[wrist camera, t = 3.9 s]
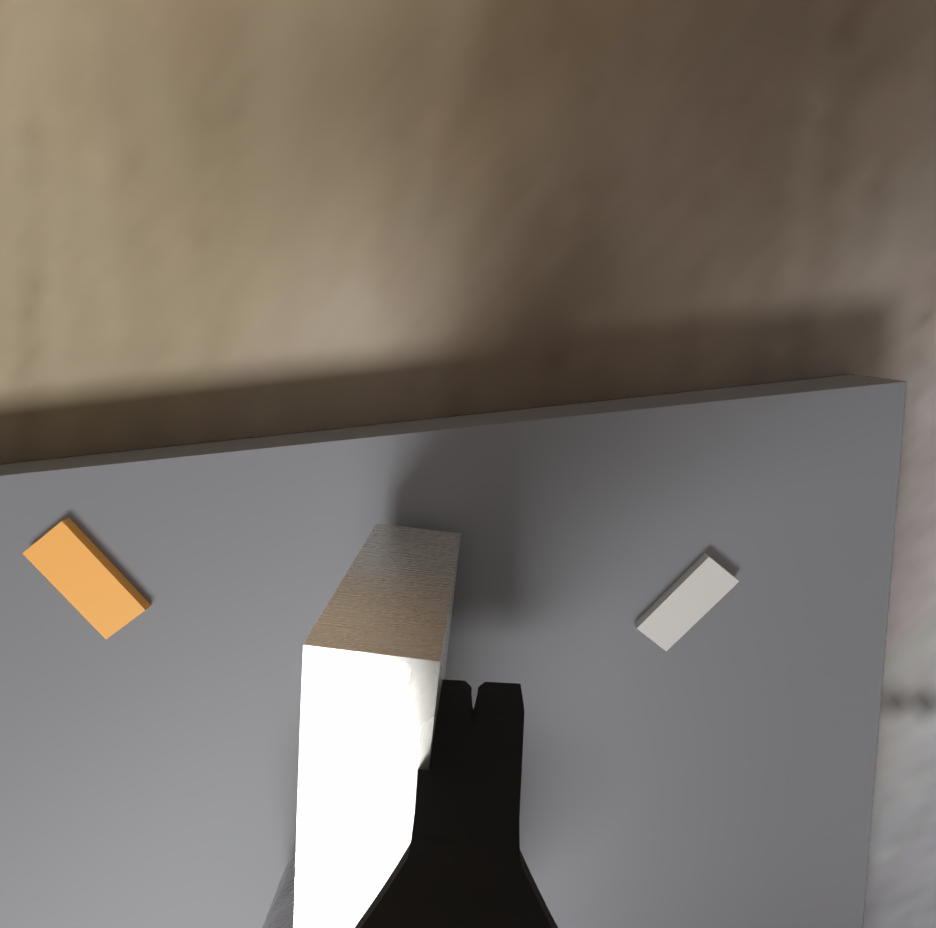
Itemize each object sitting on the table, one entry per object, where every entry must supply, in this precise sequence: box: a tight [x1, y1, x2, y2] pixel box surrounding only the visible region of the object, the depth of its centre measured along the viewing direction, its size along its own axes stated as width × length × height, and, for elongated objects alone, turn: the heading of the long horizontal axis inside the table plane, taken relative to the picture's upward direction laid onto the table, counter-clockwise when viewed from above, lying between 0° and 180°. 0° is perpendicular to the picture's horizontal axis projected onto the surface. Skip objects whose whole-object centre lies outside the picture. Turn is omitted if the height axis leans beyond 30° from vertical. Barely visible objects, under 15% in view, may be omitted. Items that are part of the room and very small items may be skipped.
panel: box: [0, 375, 907, 928], centre depth 14 cm, size 22×22×2 cm
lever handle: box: [262, 524, 461, 928], centre depth 10 cm, size 12×5×4 cm, turn 174°
